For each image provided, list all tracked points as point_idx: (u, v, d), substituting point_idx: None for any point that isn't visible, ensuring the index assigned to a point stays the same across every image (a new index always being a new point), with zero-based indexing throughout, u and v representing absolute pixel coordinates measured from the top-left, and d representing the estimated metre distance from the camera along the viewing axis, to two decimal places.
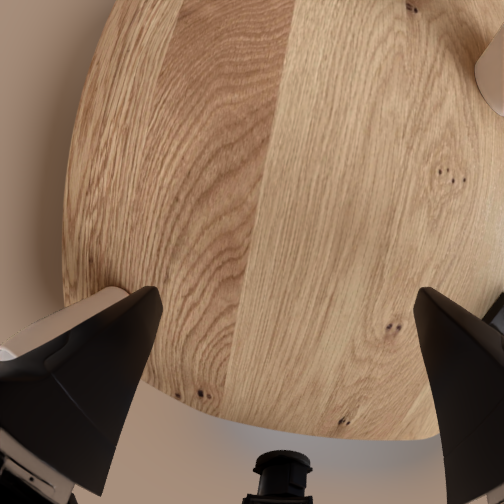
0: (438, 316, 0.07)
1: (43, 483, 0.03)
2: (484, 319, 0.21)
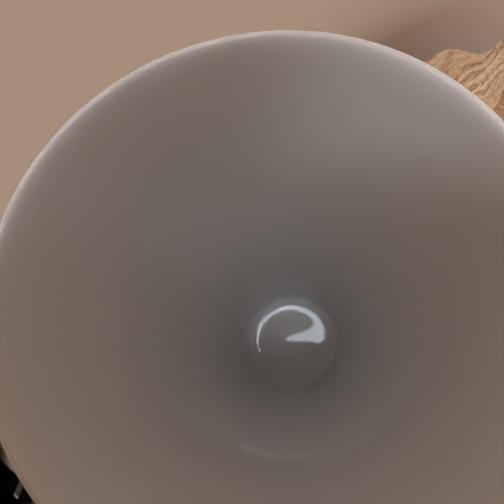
0: None
1: None
2: None
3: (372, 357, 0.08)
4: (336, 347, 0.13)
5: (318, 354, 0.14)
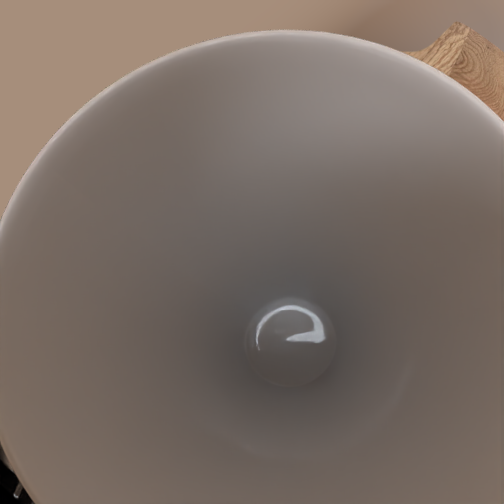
0: None
1: None
2: None
3: (371, 357, 0.08)
4: (336, 347, 0.13)
5: (318, 354, 0.14)
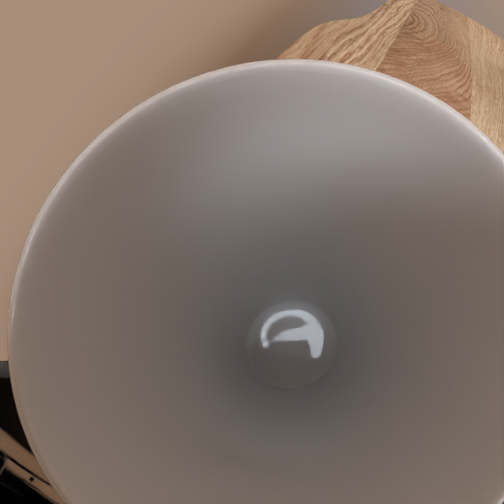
0: None
1: (43, 483, 0.03)
2: None
3: (372, 360, 0.08)
4: (336, 349, 0.14)
5: (318, 356, 0.14)
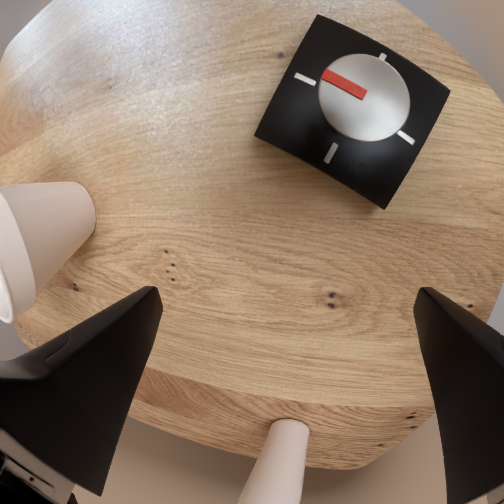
0: (438, 316, 0.07)
1: (43, 483, 0.03)
2: None
3: None
4: None
5: None
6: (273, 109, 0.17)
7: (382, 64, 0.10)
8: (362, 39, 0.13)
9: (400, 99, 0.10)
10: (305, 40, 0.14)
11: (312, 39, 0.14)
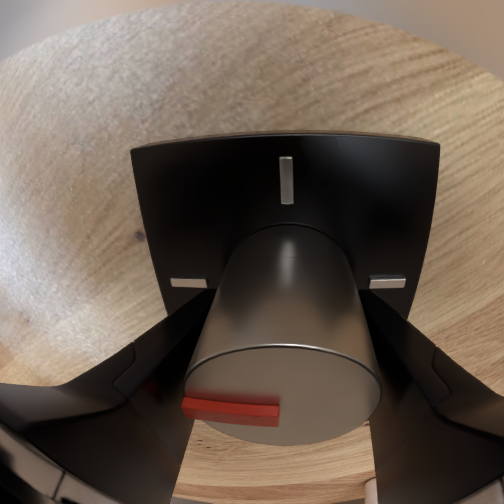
0: (368, 321, 0.07)
1: None
2: None
3: None
4: (375, 490, 0.23)
5: None
6: None
7: (282, 355, 0.04)
8: (229, 150, 0.08)
9: (356, 388, 0.05)
10: (145, 215, 0.09)
11: (153, 207, 0.09)
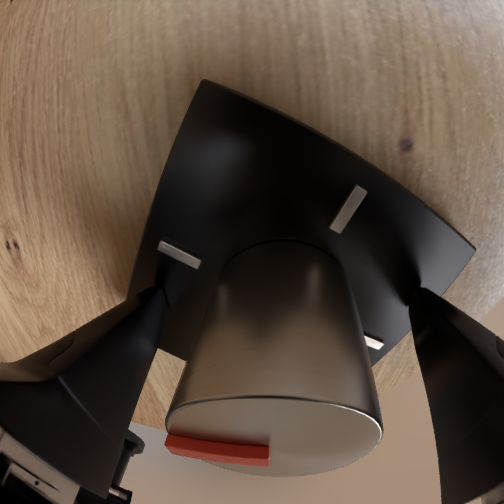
0: (432, 317, 0.07)
1: (48, 487, 0.03)
2: None
3: None
4: None
5: None
6: (271, 126, 0.07)
7: (269, 405, 0.04)
8: None
9: (354, 431, 0.04)
10: (435, 219, 0.07)
11: (434, 233, 0.07)
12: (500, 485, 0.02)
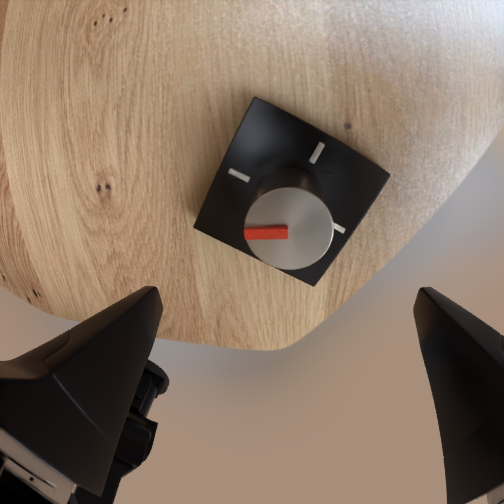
0: (438, 316, 0.07)
1: (43, 483, 0.03)
2: None
3: None
4: None
5: None
6: (283, 118, 0.16)
7: (287, 192, 0.13)
8: (360, 212, 0.18)
9: (319, 214, 0.13)
10: (361, 158, 0.16)
11: (361, 165, 0.16)
12: None
